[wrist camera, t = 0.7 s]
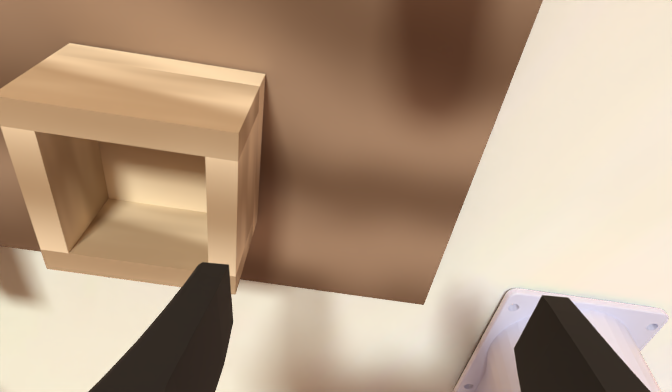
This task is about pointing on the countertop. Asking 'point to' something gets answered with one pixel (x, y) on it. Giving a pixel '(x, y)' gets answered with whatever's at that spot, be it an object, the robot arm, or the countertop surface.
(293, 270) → the backstop board
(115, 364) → the robot arm
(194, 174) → the hollow square maple frame
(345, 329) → the countertop surface
